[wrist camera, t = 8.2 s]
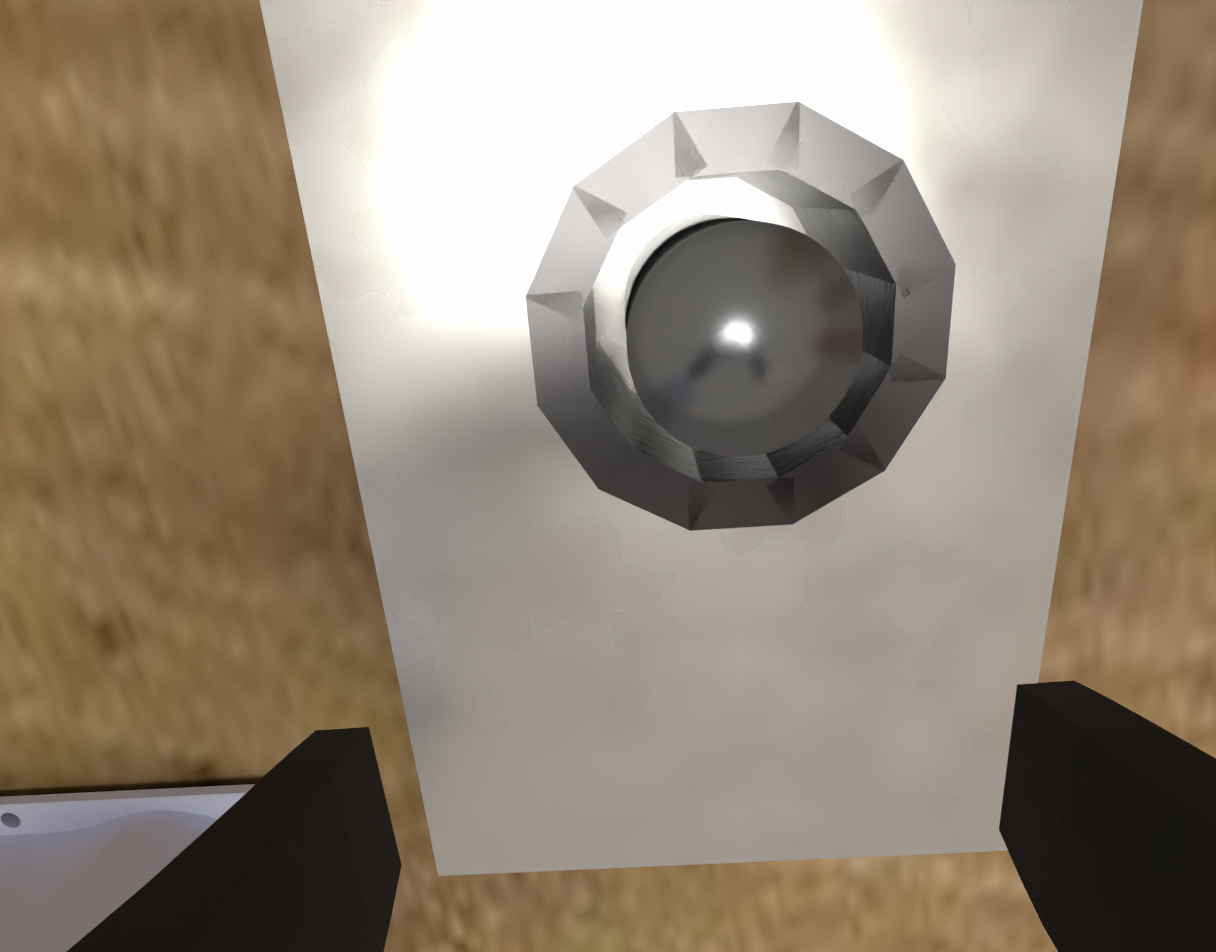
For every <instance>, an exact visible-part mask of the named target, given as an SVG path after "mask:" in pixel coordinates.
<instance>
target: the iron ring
mask: <svg viewBox="0 0 1216 952" xmlns="http://www.w3.org/2000/svg"><path fill="white" fill-rule="evenodd" d="M733 177H737V178H739V179H741V180H743V181H744V182H746V183H748V184H750V185H752V186H754V187H756V188H757V189H759V190H761V191H763V192H765V193H767V194H769V195H771V196H772V197H774V198H776V199H778V200H780V201H782V202H784V203H785V204H787V205H789V206H791V207H792V208H793V210H794V211H795V213H796V215H797V217H798V219H799V220H800V222H801V224H802V226H803V228H804V229H805V231H806V233H807V235H808V236H809V237H810V238H812V239H813V240H815V241H817V242H818V243H820V244H821V245H822V246H823V247H824V248H825V249H827V250H828V251H829V252H830V253H831V254H832V255H833V256H834V257H835V258H836V260H837V261H838V262H839V263H840V264H841V266H842V267H843V269H844V270H845V272H846V273H847V275H848V276H849V278H850V280H851V282H852V284H853V287H854V289H855V291H856V294H857V297H858V300H859V304H860V308H861V314H862V321H863V342H862V351H861V356H860V360H859V364H858V368H857V370H856V373H855V376H854V378H853V381H852V383H851V385H850V387H849V389H848V391H847V393H846V394H845V396H844V398H843V399H842V400H841V402H840V403H839V405H838V406H837V408H836V409H835V410H834V411H833V412H832V413H831V414H830V416H829V417H828V418H827V419H826V420H825V421H824V422H823V423H822V424H820V425H819V426H818V427H817V428H816V429H815V430H813V431H812V432H810V433H809V434H808V435H806V436H805V437H803V438H802V439H800V440H798V441H796V442H794V443H792V444H790V445H788V446H786V447H783V448H781V449H778V450H776V451H772V452H768V453H764V454H760V455H753V456H723V455H715V454H712V453H708V452H704V451H701V450H698V449H696V448H693V447H691V446H688V445H687V444H685V443H683V442H681V441H679V440H677V439H676V438H675V437H673V436H672V435H671V434H669V433H668V432H666V431H665V430H664V429H663V428H662V427H661V426H660V425H659V424H658V423H657V422H656V421H655V420H654V419H653V418H652V416H651V415H650V414H649V412H648V411H647V410H646V408H645V407H644V405H643V403H642V402H641V400H640V398H639V396H638V394H637V392H636V391H635V390H633V389H631V388H629V386H628V385H627V383H626V382H625V380H624V379H623V377H622V376H621V374H620V373H619V371H618V370H617V369H616V367H615V366H614V364H613V363H612V361H611V360H610V358H609V357H608V355H607V354H606V352H605V351H604V349H603V348H602V347H601V345H600V344H599V342H598V341H597V335H596V322H595V310H594V297H593V285H594V283H595V280H596V278H597V276H598V274H599V272H600V270H601V267H602V265H603V263H604V261H605V259H606V257H607V255H608V252H609V250H610V248H611V246H612V244H613V242H614V239H615V237H616V235H617V233H618V231H619V229H620V228H621V227H622V226H624V225H625V224H627V223H628V222H629V221H631V220H632V219H634V218H635V217H637V216H638V215H639V214H641V213H642V212H644V211H645V210H646V209H648V208H649V207H651V206H652V205H653V204H655V203H656V202H658V201H659V200H660V199H662V198H663V197H665V196H666V195H667V194H669V193H670V192H672V191H673V190H674V189H676V188H677V187H679V186H680V185H681V184H683V183H684V182H686V181H695V180H708V179H721V178H733ZM955 266H956V263H955V262H954V260H953V258H952V256H951V254H950V252H949V250H948V248H947V246H946V244H945V242H944V240H943V238H942V236H941V234H940V232H939V230H938V228H937V226H936V224H935V222H934V220H933V218H932V216H931V214H930V212H929V210H928V208H927V206H926V204H925V202H924V200H923V198H922V196H921V194H920V192H919V190H918V188H917V186H916V184H915V182H914V180H913V178H912V176H911V174H910V172H909V170H908V168H907V166H906V164H905V162H904V160H903V159H901V158H899V157H897V156H895V155H894V154H892V153H890V152H888V151H886V150H885V149H883V148H881V147H879V146H877V145H876V144H874V143H872V142H870V141H869V140H867V139H865V138H863V137H861V136H860V135H858V134H856V133H854V132H852V131H851V130H849V129H847V128H845V127H844V126H842V125H840V124H838V123H836V122H835V121H833V120H831V119H829V118H827V117H826V116H824V115H822V114H820V113H819V112H817V111H815V110H813V109H811V108H810V107H808V106H806V105H804V104H802V103H801V102H800V101H796V102H785V103H773V104H761V105H749V106H737V107H724V108H712V109H700V110H688V111H674V112H672V114H670V115H669V116H668V117H666V118H665V119H664V120H662V121H661V122H659V123H658V124H657V125H655V126H654V127H653V128H651V129H650V130H649V131H647V132H646V133H645V134H643V135H642V136H640V137H639V138H638V139H636V140H635V141H634V142H632V143H631V144H630V145H628V146H627V147H626V148H624V149H623V150H622V151H620V152H619V153H617V154H616V155H615V156H613V157H612V158H611V159H609V160H608V161H607V162H605V163H604V164H603V165H601V166H600V167H598V168H597V169H596V170H594V171H593V172H592V173H590V174H589V175H588V176H586V177H585V178H584V179H582V180H581V181H580V182H578V183H577V184H575V185H573V188H572V190H571V192H570V195H569V197H568V199H567V202H566V204H565V206H564V208H563V211H562V213H561V215H560V218H559V220H558V222H557V225H556V227H555V229H554V231H553V234H552V236H551V238H550V241H549V243H548V245H547V248H546V250H545V252H544V254H543V257H542V259H541V261H540V264H539V266H538V268H537V270H536V273H535V275H534V277H533V280H532V282H531V284H530V287H529V289H528V291H527V293H526V295H525V297H526V306H527V315H528V324H529V333H530V342H531V351H532V360H533V370H534V379H535V388H536V397H537V406H538V407H539V409H540V410H541V411H542V413H543V414H544V416H545V417H546V418H547V420H548V421H549V422H550V424H551V425H552V426H553V428H554V429H555V431H556V432H557V433H558V435H559V436H560V437H561V439H562V440H563V441H564V443H565V444H566V446H567V447H568V448H569V450H570V451H571V452H572V454H573V455H574V456H575V458H576V459H577V461H578V462H579V463H580V465H581V466H582V467H583V469H584V470H585V471H586V473H587V474H588V476H589V477H590V478H591V480H592V481H593V482H594V484H595V485H596V487H597V488H598V489H599V490H601V491H604V492H606V493H608V494H610V495H612V496H615V497H617V498H619V499H621V500H623V501H626V502H628V503H630V504H632V505H634V506H637V507H639V508H641V509H643V510H645V511H648V512H650V513H652V514H654V515H656V516H659V517H661V518H663V519H665V520H667V521H670V522H672V523H674V524H676V525H678V526H681V527H683V528H685V529H687V530H689V531H694V530H711V529H727V528H743V527H760V526H776V525H792V524H794V523H796V522H798V521H799V520H801V519H803V518H804V517H806V516H808V515H810V514H811V513H813V512H815V511H817V510H818V509H820V508H822V507H823V506H825V505H827V504H829V503H830V502H832V501H834V500H836V499H837V498H839V497H841V496H842V495H844V494H846V493H848V492H849V491H851V490H853V489H854V488H856V487H858V486H860V485H861V484H863V483H865V482H867V481H868V480H870V479H872V478H873V477H875V476H877V475H879V474H880V473H882V472H884V471H886V468H887V467H888V465H889V464H890V462H891V461H892V459H893V458H894V456H895V455H896V453H897V452H898V450H899V448H900V447H901V445H902V444H903V442H904V441H905V439H906V438H907V436H908V435H909V433H910V432H911V430H912V429H913V427H914V426H915V424H916V423H917V421H918V420H919V418H920V417H921V415H922V414H923V412H924V410H925V409H926V407H927V406H928V404H929V403H930V401H931V400H932V398H933V397H934V395H935V394H936V392H937V391H938V389H939V388H940V386H941V385H942V383H943V382H944V380H945V379H946V370H947V358H948V347H949V335H950V324H951V312H952V301H953V289H954V278H955Z"/></svg>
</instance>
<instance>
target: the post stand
mask: <svg viewBox="0 0 1216 952" xmlns="http://www.w3.org/2000/svg"><path fill="white" fill-rule="evenodd" d="M1142 4H1143V0H260V5H261V9H262V14H263V19H264V24H265V29H266V34H267V39H268V44H269V49H270V54H271V58H272V63H273V68H274V73H275V78H276V83H277V88H278V93H279V98H280V103H281V107H282V112H283V117H284V122H285V127H286V132H287V137H288V142H289V147H290V152H291V156H292V161H293V166H294V171H295V176H296V181H297V186H298V191H299V196H300V201H301V205H302V210H303V215H304V220H305V225H306V230H307V235H308V240H309V245H310V250H311V254H312V259H313V264H314V269H315V274H316V279H317V284H318V289H319V294H320V299H321V303H322V308H323V313H324V318H325V323H326V328H327V333H328V338H329V343H330V348H331V352H332V357H333V362H334V367H335V372H336V377H337V382H338V387H339V392H340V397H341V401H342V406H343V411H344V416H345V421H346V426H347V431H348V436H349V441H350V446H351V450H352V455H353V460H354V465H355V470H356V475H357V480H358V485H359V490H360V495H361V499H362V504H363V509H364V514H365V519H366V524H367V529H368V534H369V539H370V543H371V548H372V553H373V558H374V563H375V568H376V573H377V578H378V583H379V588H380V592H381V597H382V602H383V607H384V612H385V617H386V622H387V627H388V632H389V637H390V641H391V646H392V651H393V656H394V661H395V666H396V671H397V676H398V681H399V686H400V690H401V695H402V700H403V705H404V710H405V715H406V720H407V725H408V730H409V735H410V739H411V744H412V749H413V754H414V759H415V764H416V769H417V774H418V779H419V784H420V788H421V793H422V798H423V803H424V808H425V813H426V818H427V823H428V828H429V833H430V837H431V842H432V847H433V852H434V857H435V862H436V867H437V872H438V876H448V875H470V874H492V873H515V872H537V871H560V870H582V869H605V868H627V867H649V866H672V865H694V864H717V863H739V862H762V861H784V860H806V859H829V858H851V857H874V856H896V855H919V854H941V853H963V852H986V851H1008V849H1007V847H1006V845H1005V842H1004V840H1003V838H1002V836H1001V833H1000V831H999V824H1000V816H1001V808H1002V801H1003V793H1004V785H1005V777H1006V769H1007V761H1008V753H1009V745H1010V737H1011V729H1012V721H1013V713H1014V705H1015V697H1016V689H1017V684H1032V683H1038V678H1039V672H1040V666H1041V659H1042V653H1043V646H1044V640H1045V633H1046V627H1047V620H1048V614H1049V607H1050V601H1051V594H1052V588H1053V581H1054V575H1055V568H1056V562H1057V555H1058V549H1059V542H1060V536H1061V529H1062V523H1063V516H1064V510H1065V503H1066V497H1067V491H1068V484H1069V478H1070V471H1071V465H1072V458H1073V452H1074V445H1075V439H1076V432H1077V426H1078V419H1079V413H1080V406H1081V400H1082V393H1083V387H1084V380H1085V374H1086V367H1087V361H1088V354H1089V348H1090V341H1091V335H1092V329H1093V322H1094V316H1095V309H1096V303H1097V296H1098V290H1099V283H1100V277H1101V270H1102V264H1103V257H1104V251H1105V244H1106V238H1107V231H1108V225H1109V218H1110V212H1111V205H1112V199H1113V192H1114V186H1115V179H1116V173H1117V167H1118V160H1119V154H1120V147H1121V141H1122V134H1123V128H1124V121H1125V115H1126V108H1127V102H1128V95H1129V89H1130V82H1131V76H1132V69H1133V63H1134V56H1135V50H1136V43H1137V37H1138V30H1139V24H1140V17H1141V11H1142ZM796 101H800V102H801V103H802V104H804V105H806V106H808V107H810V108H811V109H813V110H815V111H817V112H819V113H820V114H822V115H824V116H826V117H827V118H829V119H831V120H833V121H835V122H836V123H838V124H840V125H842V126H844V127H845V128H847V129H849V130H851V131H852V132H854V133H856V134H858V135H860V136H861V137H863V138H865V139H867V140H869V141H870V142H872V143H874V144H876V145H877V146H879V147H881V148H883V149H885V150H886V151H888V152H890V153H892V154H894V155H895V156H897V157H899V158H901V159H903V160H904V162H905V164H906V166H907V168H908V170H909V172H910V174H911V176H912V178H913V180H914V182H915V184H916V186H917V188H918V190H919V192H920V194H921V196H922V198H923V200H924V202H925V204H926V206H927V208H928V210H929V212H930V214H931V216H932V218H933V220H934V222H935V224H936V226H937V228H938V230H939V232H940V234H941V236H942V238H943V240H944V242H945V244H946V246H947V248H948V250H949V252H950V254H951V256H952V258H953V260H954V262H955V263H956V266H955V278H954V289H953V301H952V312H951V324H950V335H949V347H948V358H947V370H946V379H945V380H944V382H943V383H942V385H941V386H940V388H939V389H938V391H937V392H936V394H935V395H934V397H933V398H932V400H931V401H930V403H929V404H928V406H927V407H926V409H925V410H924V412H923V414H922V415H921V417H920V418H919V420H918V421H917V423H916V424H915V426H914V427H913V429H912V430H911V432H910V433H909V435H908V436H907V438H906V439H905V441H904V442H903V444H902V445H901V447H900V448H899V450H898V452H897V453H896V455H895V456H894V458H893V459H892V461H891V462H890V464H889V465H888V467H887V468H886V471H884V472H882V473H880V474H879V475H877V476H875V477H873V478H872V479H870V480H868V481H867V482H865V483H863V484H861V485H860V486H858V487H856V488H854V489H853V490H851V491H849V492H848V493H846V494H844V495H842V496H841V497H839V498H837V499H836V500H834V501H832V502H830V503H829V504H827V505H825V506H823V507H822V508H820V509H818V510H817V511H815V512H813V513H811V514H810V515H808V516H806V517H804V518H803V519H801V520H799V521H798V522H796V523H794V524H792V525H776V526H760V527H743V528H727V529H711V530H694V531H689V530H687V529H685V528H683V527H681V526H678V525H676V524H674V523H672V522H670V521H667V520H665V519H663V518H661V517H659V516H656V515H654V514H652V513H650V512H648V511H645V510H643V509H641V508H639V507H637V506H634V505H632V504H630V503H628V502H626V501H623V500H621V499H619V498H617V497H615V496H612V495H610V494H608V493H606V492H604V491H601V490H599V489H598V488H597V487H596V485H595V484H594V482H593V481H592V480H591V478H590V477H589V476H588V474H587V473H586V471H585V470H584V469H583V467H582V466H581V465H580V463H579V462H578V461H577V459H576V458H575V456H574V455H573V454H572V452H571V451H570V450H569V448H568V447H567V446H566V444H565V443H564V441H563V440H562V439H561V437H560V436H559V435H558V433H557V432H556V431H555V429H554V428H553V426H552V425H551V424H550V422H549V421H548V420H547V418H546V417H545V416H544V414H543V413H542V411H541V410H540V409H539V407H538V406H537V397H536V388H535V379H534V370H533V360H532V351H531V342H530V333H529V324H528V315H527V306H526V297H525V295H526V293H527V291H528V289H529V287H530V284H531V282H532V280H533V277H534V275H535V273H536V270H537V268H538V266H539V264H540V261H541V259H542V257H543V254H544V252H545V250H546V248H547V245H548V243H549V241H550V238H551V236H552V234H553V231H554V229H555V227H556V225H557V222H558V220H559V218H560V215H561V213H562V211H563V208H564V206H565V204H566V202H567V199H568V197H569V195H570V192H571V190H572V188H573V185H575V184H577V183H578V182H580V181H581V180H582V179H584V178H585V177H586V176H588V175H589V174H590V173H592V172H593V171H594V170H596V169H597V168H598V167H600V166H601V165H603V164H604V163H605V162H607V161H608V160H609V159H611V158H612V157H613V156H615V155H616V154H617V153H619V152H620V151H622V150H623V149H624V148H626V147H627V146H628V145H630V144H631V143H632V142H634V141H635V140H636V139H638V138H639V137H640V136H642V135H643V134H645V133H646V132H647V131H649V130H650V129H651V128H653V127H654V126H655V125H657V124H658V123H659V122H661V121H662V120H664V119H665V118H666V117H668V116H669V115H670V114H672V112H674V111H688V110H700V109H712V108H724V107H737V106H749V105H761V104H773V103H785V102H796ZM593 297H594V310H595V322H596V335H597V341H598V342H599V344H600V345H601V347H602V348H603V349H604V351H605V352H606V354H607V355H608V357H609V358H610V360H611V361H612V363H613V364H614V366H615V367H616V369H617V370H618V371H619V373H620V374H621V376H622V377H623V379H624V380H625V382H626V383H627V385H628V386H629V388H631V389H633V390H635V391H636V392H637V394H638V396H639V398H640V400H641V402H642V403H643V405H644V407H645V408H646V410H647V411H648V412H649V414H650V415H651V416H652V418H653V419H654V420H655V421H656V422H657V423H658V424H659V425H660V426H661V427H662V428H663V429H664V430H665V431H666V432H668V433H669V434H671V435H672V436H673V437H675V438H676V439H677V440H679V441H681V442H683V443H685V444H687V445H688V446H691V447H693V448H696V449H698V450H701V451H704V452H708V453H712V454H715V455H723V456H753V455H760V454H764V453H768V452H772V451H776V450H778V449H781V448H783V447H786V446H788V445H790V444H792V443H794V442H796V441H798V440H800V439H802V438H803V437H805V436H806V435H808V434H809V433H810V432H812V431H813V430H815V429H816V428H817V427H818V426H819V425H820V424H822V423H823V422H824V421H825V420H826V419H827V418H828V417H829V416H830V414H831V413H832V412H833V411H834V410H835V409H836V408H837V406H838V405H839V403H840V402H841V400H842V399H843V398H844V396H845V394H846V393H847V391H848V389H849V387H850V385H851V383H852V381H853V378H854V376H855V373H856V370H857V368H858V364H859V360H860V356H861V351H862V342H863V321H862V314H861V308H860V304H859V300H858V297H857V294H856V291H855V289H854V287H853V284H852V282H851V280H850V278H849V276H848V275H847V273H846V272H845V270H844V269H843V267H842V266H841V264H840V263H839V262H838V261H837V260H836V258H835V257H834V256H833V255H832V254H831V253H830V252H829V251H828V250H827V249H825V248H824V247H823V246H822V245H821V244H820V243H818V242H817V241H815V240H813V239H812V238H810V237H809V236H808V235H807V233H806V231H805V229H804V228H803V226H802V224H801V222H800V220H799V219H798V217H797V215H796V213H795V211H794V210H793V208H792V207H791V206H789V205H787V204H785V203H784V202H782V201H780V200H778V199H776V198H774V197H772V196H771V195H769V194H767V193H765V192H763V191H761V190H759V189H757V188H756V187H754V186H752V185H750V184H748V183H746V182H744V181H743V180H741V179H739V178H737V177H733V178H721V179H708V180H695V181H686V182H684V183H683V184H681V185H680V186H679V187H677V188H676V189H674V190H673V191H672V192H670V193H669V194H667V195H666V196H665V197H663V198H662V199H660V200H659V201H658V202H656V203H655V204H653V205H652V206H651V207H649V208H648V209H646V210H645V211H644V212H642V213H641V214H639V215H638V216H637V217H635V218H634V219H632V220H631V221H629V222H628V223H627V224H625V225H624V226H622V227H621V228H620V229H619V231H618V233H617V235H616V237H615V239H614V242H613V244H612V246H611V248H610V250H609V252H608V255H607V257H606V259H605V261H604V263H603V265H602V267H601V270H600V272H599V274H598V276H597V278H596V280H595V283H594V285H593Z"/></svg>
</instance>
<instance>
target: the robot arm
mask: <svg viewBox="0 0 1216 952" xmlns="http://www.w3.org/2000/svg"><path fill="white" fill-rule="evenodd" d="M999 831H1000V833H1001V836H1002V838H1003V840H1004V842H1005V845H1006V847H1007V849H1008V851H1009V854H1010V856H1011V858H1012V860H1013V863H1014V865H1015V867H1016V869H1017V872H1018V874H1019V876H1020V878H1021V880H1022V883H1023V885H1024V887H1025V889H1026V891H1027V893H1028V895H1029V897H1030V899H1031V901H1032V903H1033V906H1034V908H1035V910H1036V912H1037V914H1038V916H1039V918H1040V920H1041V922H1042V924H1043V926H1044V928H1045V930H1046V931H1047V933H1048V935H1049V937H1050V938H1051V940H1052V942H1053V943H1054V945H1055V947H1056V949H1057V950H1058V952H1216V759H1215V758H1214V757H1212V756H1210V755H1208V754H1207V753H1205V752H1203V751H1201V750H1200V749H1198V748H1196V747H1194V746H1193V745H1191V744H1189V743H1187V742H1186V741H1184V740H1182V739H1180V738H1179V737H1177V736H1175V735H1173V734H1171V733H1170V732H1168V731H1166V730H1164V729H1163V728H1161V727H1159V726H1157V725H1156V724H1154V723H1152V722H1150V721H1149V720H1147V719H1145V718H1143V717H1141V716H1140V715H1138V714H1136V713H1134V712H1132V711H1131V710H1129V709H1127V708H1125V707H1123V706H1122V705H1120V704H1118V703H1116V702H1114V701H1113V700H1111V699H1109V698H1107V697H1105V696H1103V695H1101V694H1099V693H1097V692H1096V691H1094V690H1092V689H1090V688H1088V687H1086V686H1084V685H1082V684H1080V683H1078V682H1075V681H1063V682H1048V683H1032V684H1017V689H1016V697H1015V705H1014V713H1013V721H1012V729H1011V737H1010V745H1009V753H1008V761H1007V769H1006V777H1005V785H1004V793H1003V801H1002V808H1001V816H1000V824H999ZM400 869H401V861H400V857H399V853H398V849H397V845H396V840H395V836H394V832H393V828H392V823H391V819H390V815H389V811H388V806H387V802H386V798H385V794H384V790H383V785H382V781H381V777H380V773H379V768H378V764H377V760H376V756H375V751H374V747H373V743H372V739H371V735H370V730H369V727H363V728H348V729H333V730H317V731H315V732H314V733H313V734H311V735H310V736H309V737H308V738H307V739H305V740H304V741H303V742H302V743H301V744H299V745H298V746H297V747H296V748H295V749H294V750H293V751H292V752H290V753H289V754H288V755H287V756H286V757H285V758H284V759H283V760H282V761H280V762H279V763H278V764H277V765H276V766H275V767H274V768H273V769H272V770H271V771H270V772H268V773H267V774H266V775H265V776H264V777H263V778H262V779H261V780H260V781H259V782H258V783H256V784H247V785H227V786H207V787H187V788H166V789H146V790H126V791H106V792H86V793H66V794H46V795H25V796H5V797H0V952H383V951H384V946H385V942H386V937H387V933H388V928H389V924H390V919H391V915H392V910H393V905H394V900H395V895H396V890H397V884H398V879H399V874H400Z"/></svg>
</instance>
